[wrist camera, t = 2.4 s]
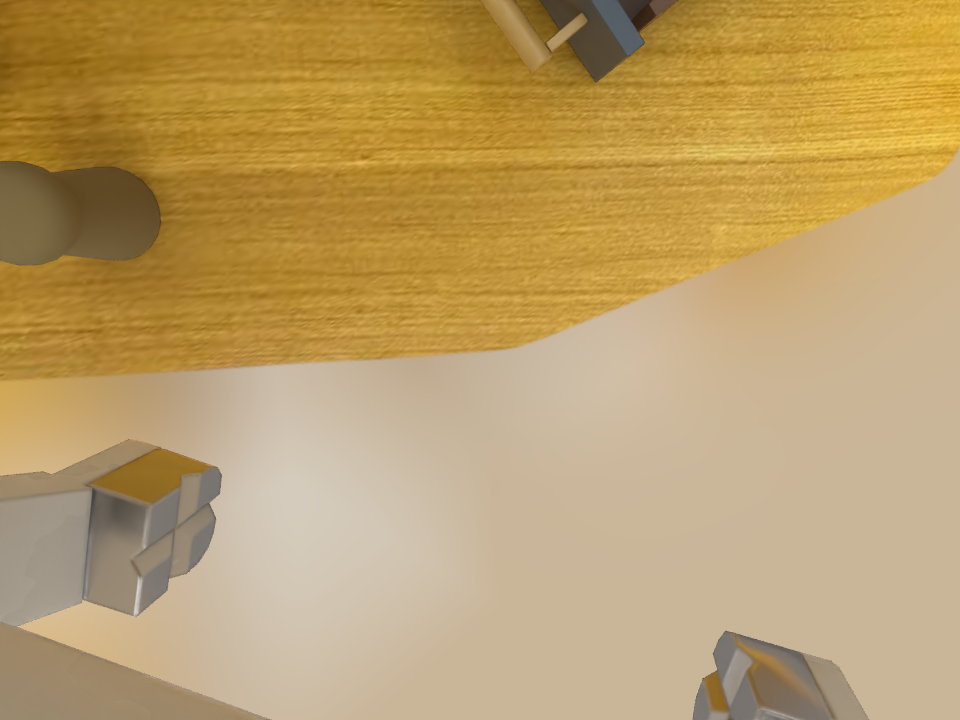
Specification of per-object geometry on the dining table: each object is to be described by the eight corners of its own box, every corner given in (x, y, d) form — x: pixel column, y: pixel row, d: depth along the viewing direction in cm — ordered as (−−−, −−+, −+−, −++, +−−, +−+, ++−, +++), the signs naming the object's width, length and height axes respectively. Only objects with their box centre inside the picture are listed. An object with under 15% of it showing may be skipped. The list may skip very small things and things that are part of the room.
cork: (162, 174, 40) (65, 160, 29) (158, 267, 41) (64, 285, 31) (64, 159, 39) (-72, 138, 29) (63, 253, 41) (-67, 267, 30)
